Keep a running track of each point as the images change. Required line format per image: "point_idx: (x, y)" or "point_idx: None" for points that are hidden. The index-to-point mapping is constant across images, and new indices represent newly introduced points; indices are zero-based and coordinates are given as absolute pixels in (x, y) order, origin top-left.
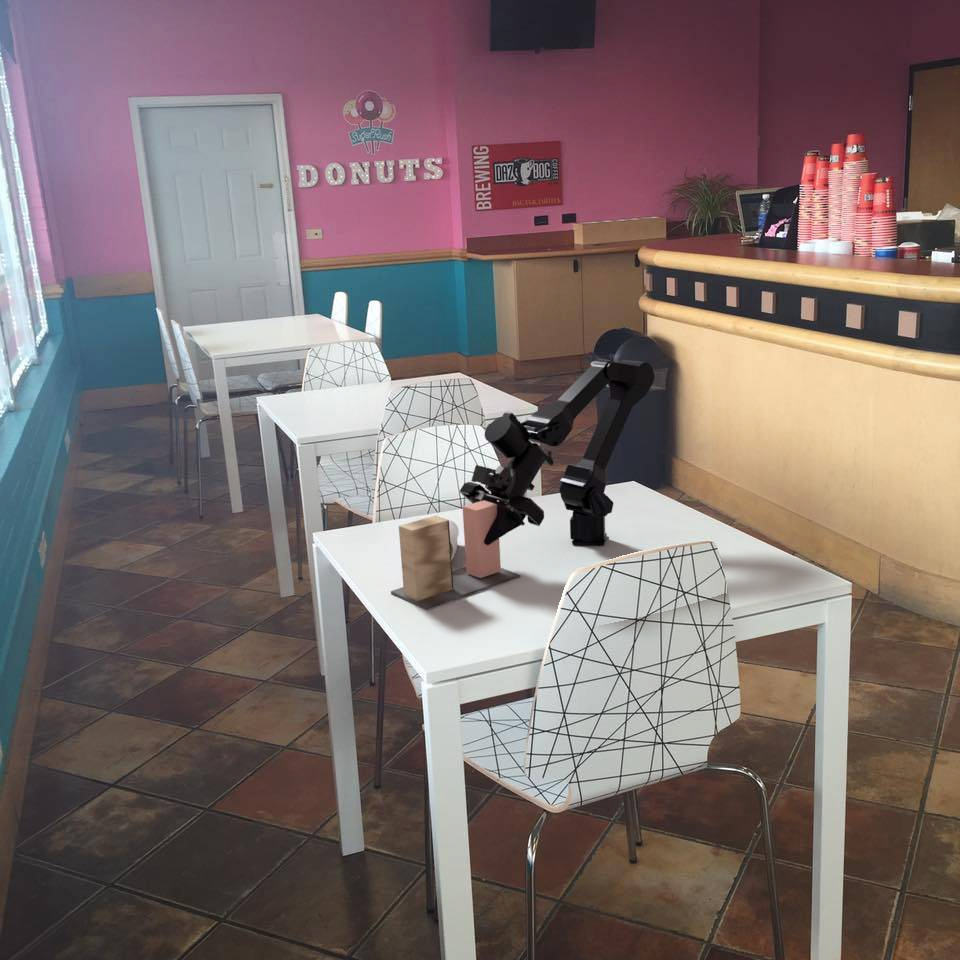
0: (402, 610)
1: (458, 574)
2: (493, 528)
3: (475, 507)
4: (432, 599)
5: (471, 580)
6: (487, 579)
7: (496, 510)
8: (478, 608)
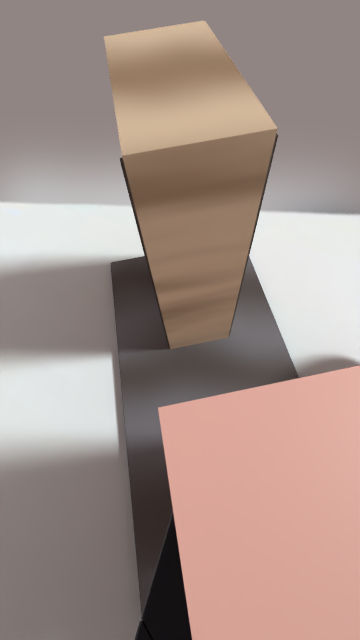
0: None
1: None
2: (153, 596)
3: (307, 477)
4: (140, 285)
5: None
6: None
7: None
8: (36, 354)
